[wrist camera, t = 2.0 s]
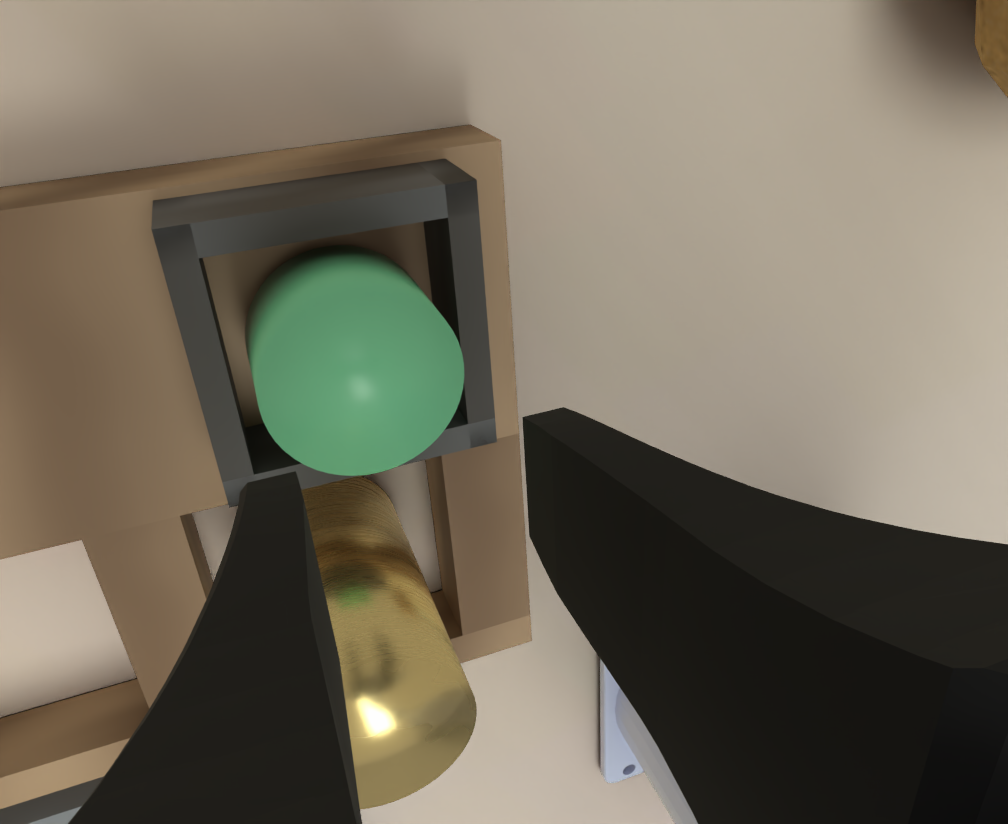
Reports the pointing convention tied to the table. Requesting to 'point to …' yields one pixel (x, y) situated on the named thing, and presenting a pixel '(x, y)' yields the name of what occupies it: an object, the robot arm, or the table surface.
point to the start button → (351, 361)
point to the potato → (993, 39)
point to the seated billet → (387, 644)
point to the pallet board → (230, 390)
